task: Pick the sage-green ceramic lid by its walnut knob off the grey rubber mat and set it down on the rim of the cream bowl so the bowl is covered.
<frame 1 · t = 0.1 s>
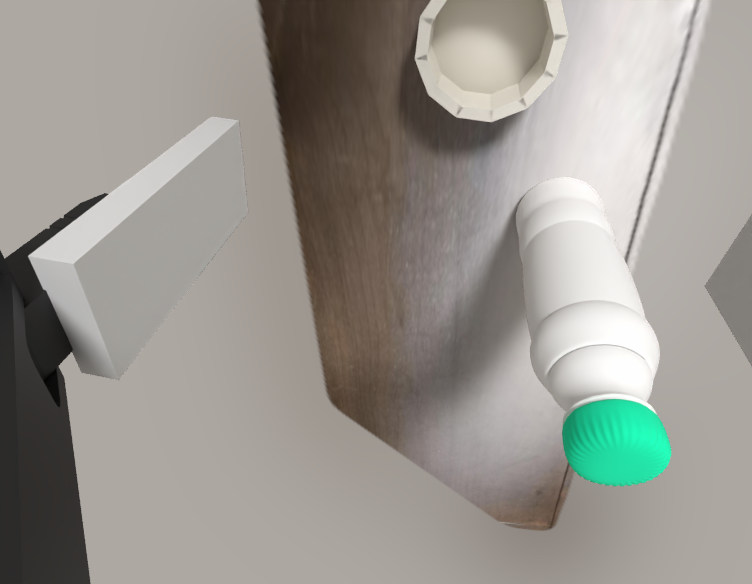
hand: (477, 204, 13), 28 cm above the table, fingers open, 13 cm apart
water bottle: (556, 210, 42), on the table
bowl: (488, 34, 35), on the table
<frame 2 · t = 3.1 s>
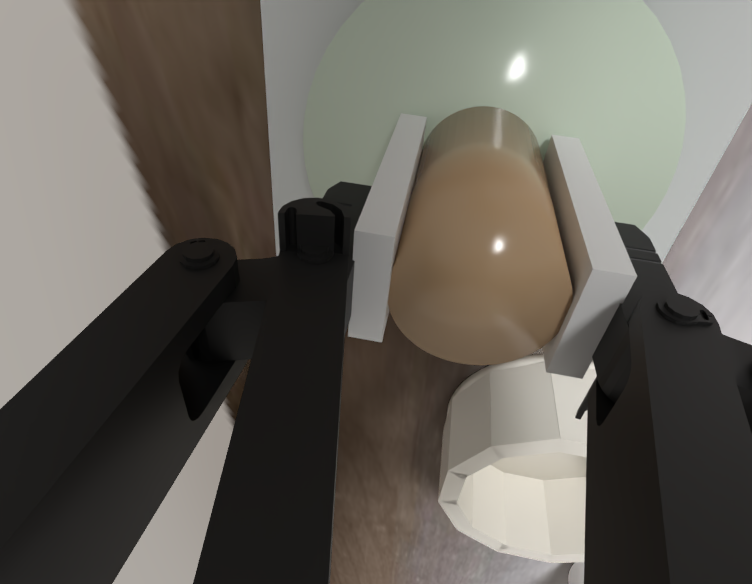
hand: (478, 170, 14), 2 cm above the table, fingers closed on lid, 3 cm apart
mat: (478, 149, 16), on the table
water bottle: (624, 567, 31), on the table
bowl: (544, 422, 23), on the table
lid: (478, 153, 15), resting on mat, touching gripper
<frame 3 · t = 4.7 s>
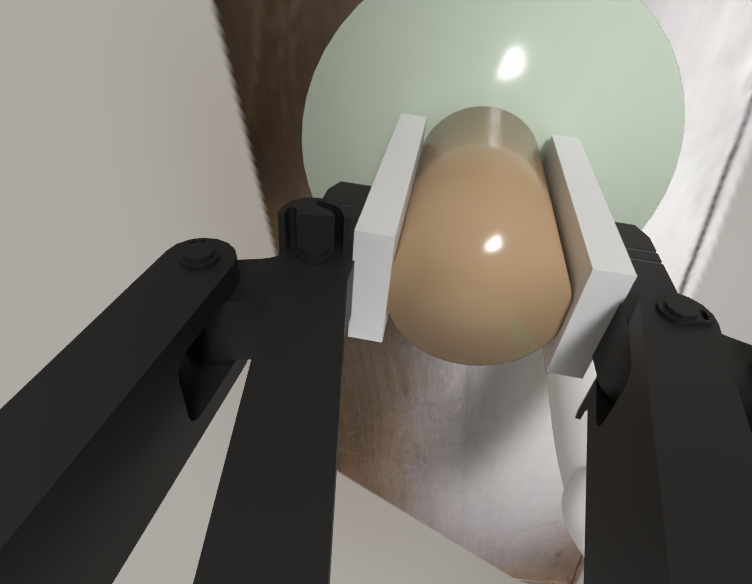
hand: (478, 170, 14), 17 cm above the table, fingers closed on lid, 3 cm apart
water bottle: (583, 284, 36), on the table
lid: (477, 153, 15), point 15 cm above the table, touching gripper
when the fingers open (7 cm above the table, at t = 6.5 s): lid drops 1 cm, resting on bowl.
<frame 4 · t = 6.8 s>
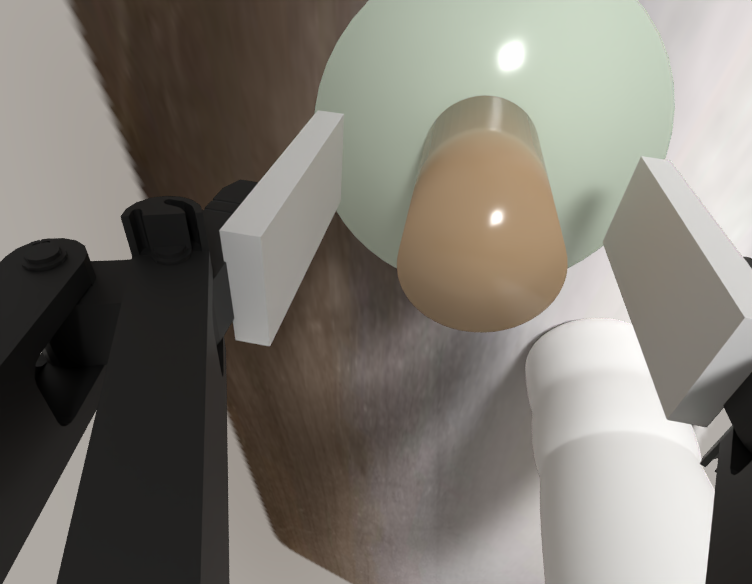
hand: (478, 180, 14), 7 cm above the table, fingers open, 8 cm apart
water bottle: (588, 356, 27), on the table
lid: (480, 142, 16), point 4 cm above the table, touching bowl
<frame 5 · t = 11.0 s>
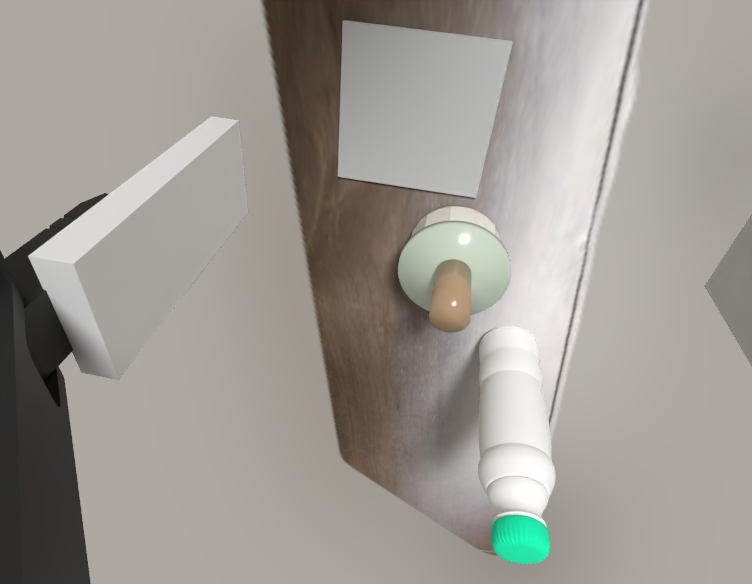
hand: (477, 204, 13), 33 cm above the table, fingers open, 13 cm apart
mat: (415, 115, 44), on the table
water bottle: (508, 343, 59), on the table
bowl: (454, 244, 52), on the table
lid: (453, 268, 48), point 4 cm above the table, touching bowl
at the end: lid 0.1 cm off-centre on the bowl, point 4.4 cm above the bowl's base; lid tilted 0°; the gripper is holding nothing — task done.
